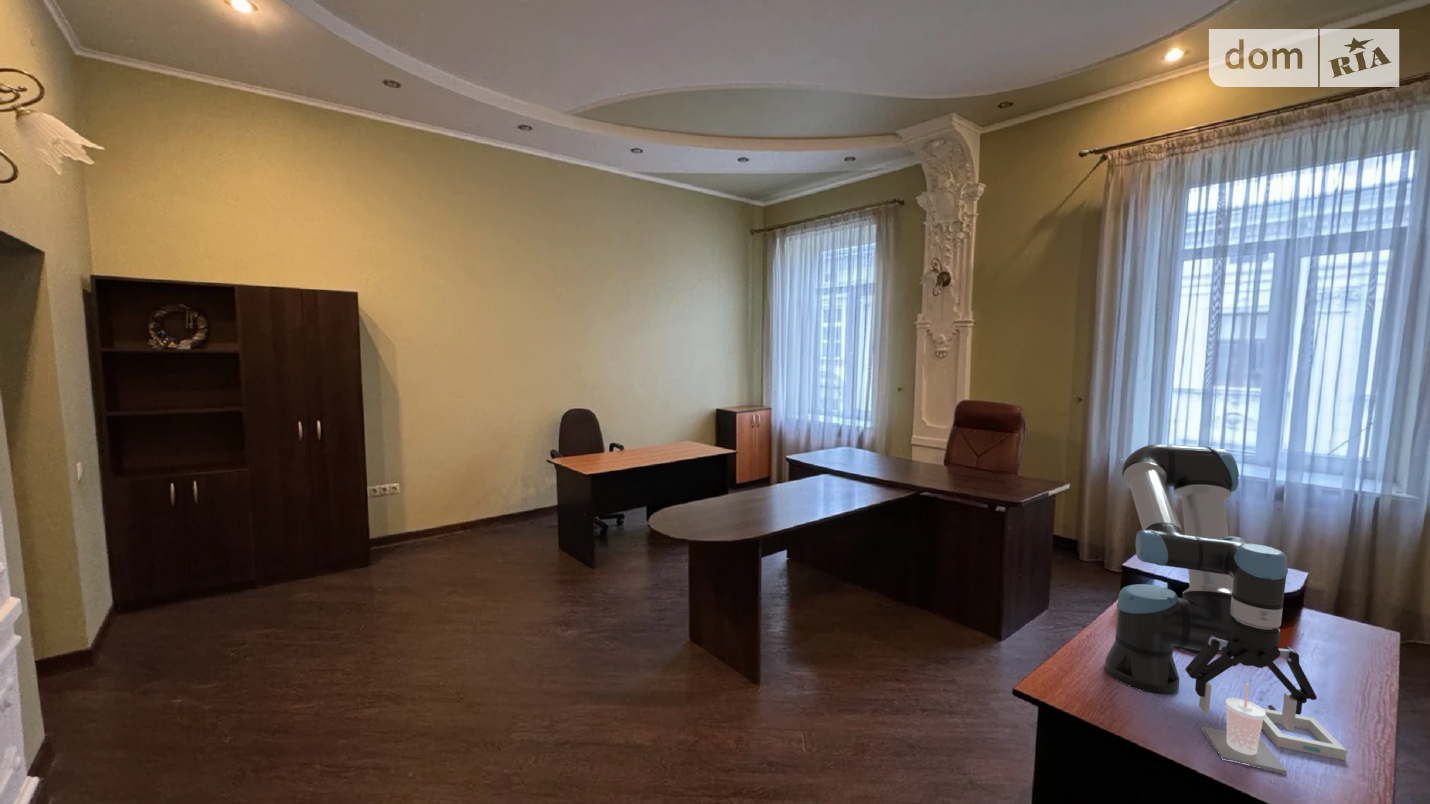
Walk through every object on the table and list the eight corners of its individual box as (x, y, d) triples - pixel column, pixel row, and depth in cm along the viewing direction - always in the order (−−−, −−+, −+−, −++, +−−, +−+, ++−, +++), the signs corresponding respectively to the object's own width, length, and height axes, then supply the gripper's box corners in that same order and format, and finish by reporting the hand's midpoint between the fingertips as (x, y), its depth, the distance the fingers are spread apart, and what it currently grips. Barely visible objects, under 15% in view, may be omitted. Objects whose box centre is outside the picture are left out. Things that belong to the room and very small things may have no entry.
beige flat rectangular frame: (1277, 747, 118) (1278, 737, 117) (1241, 703, 132) (1242, 694, 132) (1346, 761, 114) (1348, 751, 113) (1301, 714, 128) (1302, 705, 128)
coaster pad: (1222, 760, 114) (1222, 756, 114) (1201, 729, 123) (1201, 726, 123) (1286, 774, 110) (1286, 770, 110) (1260, 741, 119) (1260, 738, 119)
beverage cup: (1268, 761, 113) (1275, 695, 111) (1230, 753, 115) (1236, 688, 114) (1252, 741, 118) (1258, 679, 117) (1216, 734, 120) (1221, 672, 119)
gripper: (1186, 618, 115) (1177, 714, 117) (1349, 642, 106) (1336, 746, 108) (1172, 602, 122) (1164, 693, 124) (1324, 624, 113) (1313, 722, 115)
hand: (1244, 718), depth 116 cm, fingers open, 13 cm apart
